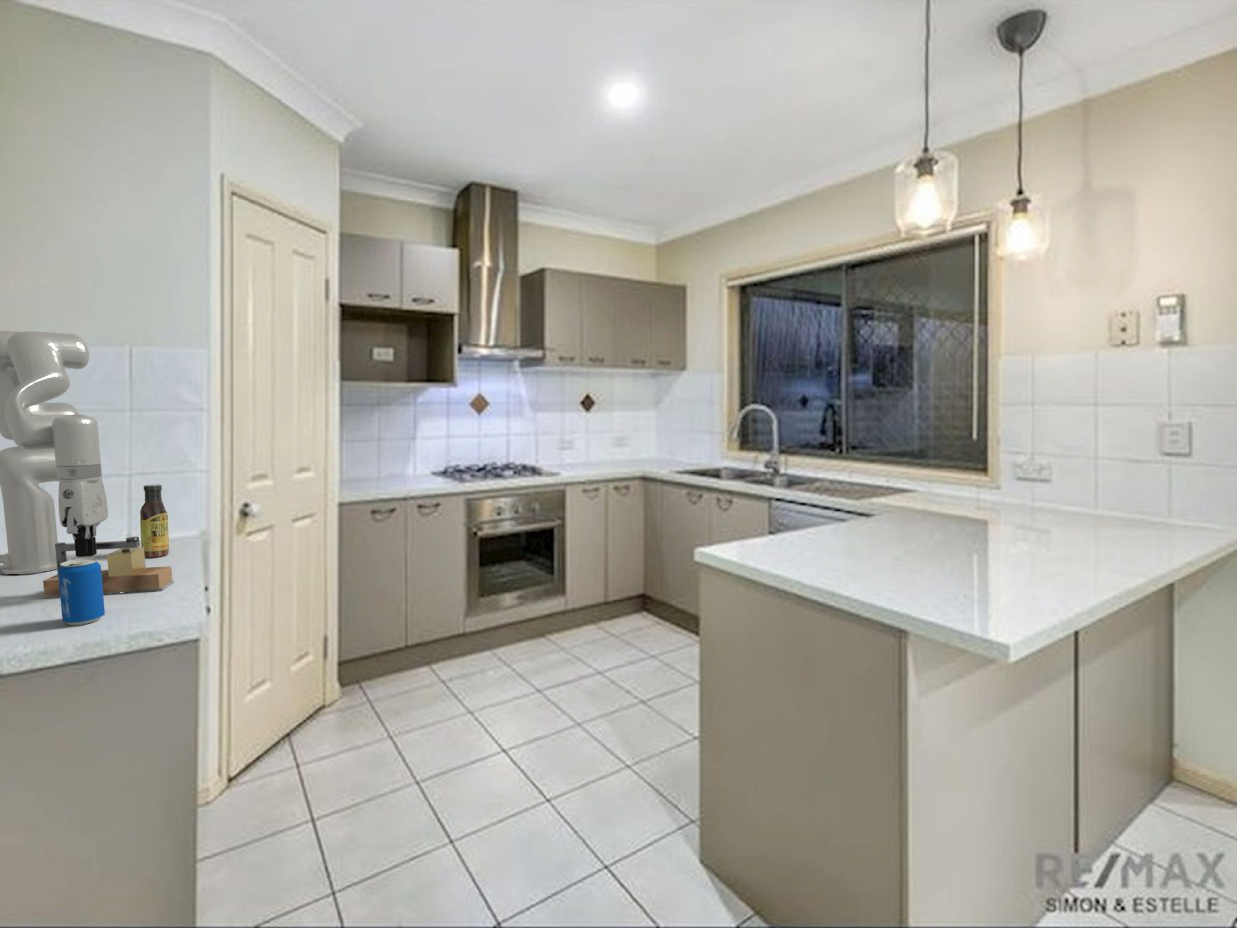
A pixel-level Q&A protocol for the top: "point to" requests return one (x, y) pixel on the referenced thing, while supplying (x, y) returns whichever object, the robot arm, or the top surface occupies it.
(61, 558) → the lever
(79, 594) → the beverage can
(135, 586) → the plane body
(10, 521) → the robot arm
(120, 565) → the tan knob block
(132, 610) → the top surface
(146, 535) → the sauce bottle
